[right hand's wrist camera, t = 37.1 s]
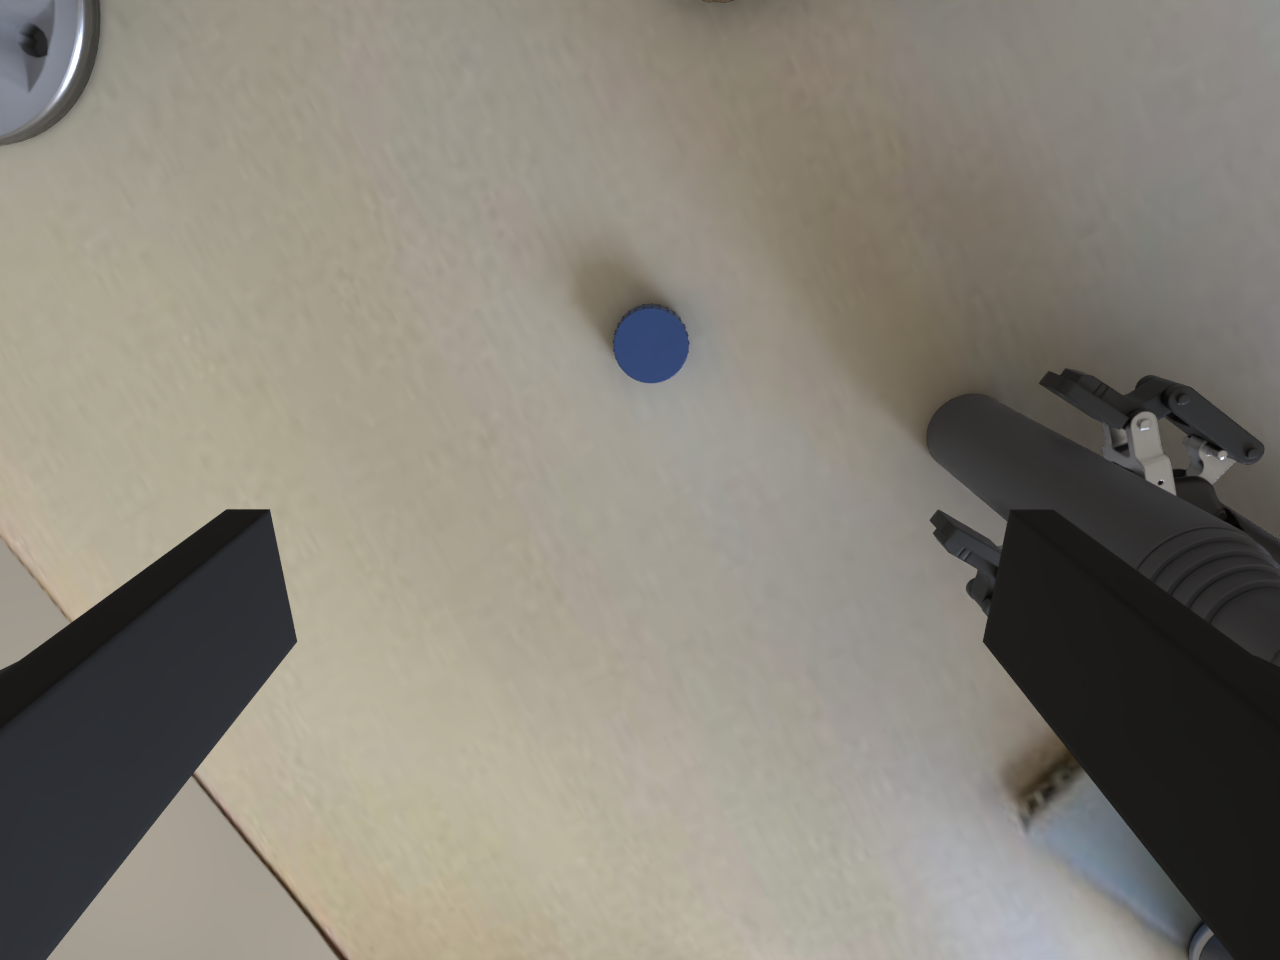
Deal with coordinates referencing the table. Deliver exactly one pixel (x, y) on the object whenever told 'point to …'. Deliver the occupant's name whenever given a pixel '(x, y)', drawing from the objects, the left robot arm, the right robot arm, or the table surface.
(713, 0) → the stone
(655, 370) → the cap
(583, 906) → the table surface
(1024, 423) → the bottle
